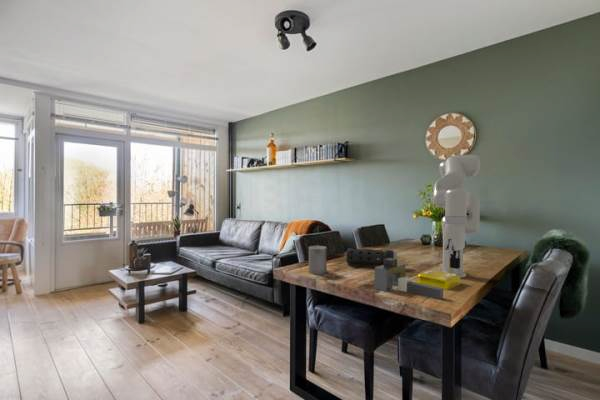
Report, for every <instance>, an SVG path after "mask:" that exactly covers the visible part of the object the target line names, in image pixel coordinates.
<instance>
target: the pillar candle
mask: <svg viewBox="0 0 600 400" xmlns="http://www.w3.org/2000/svg"><path fill="white" fill-rule="evenodd" d="M327 261H328V260H327V246H325V245H319V244H317V245H311V246H308V274H311V275H325V274H327V271H328V270H327Z"/></svg>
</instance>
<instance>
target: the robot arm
mask: <svg viewBox="0 0 600 400" xmlns="http://www.w3.org/2000/svg"><path fill="white" fill-rule="evenodd" d="M480 160H481V159H480V158H479V156H477V155H475V154H463V155H462V154H461V155H460V154H459V155H458V154H457V155H452V156H449V157H448V158H447V159H446V160H445V161H441V162H440V163H439V166H438V167H439V168H438V169H439V174H440V176H441V177H440V178H439V179H437V180H436V181H435V183H434V185H433V189H432V202H433V205H434V206H435V207H437V208H444V216H443V217H442V218H441V220H440V221H441V222H440V223H441V231H442V270H439V271H440V272H445V273H451V274H456V275H460V279H463V278H466V277H467V274H466V273H465V272H464V271H463V269H464V249H465V247H466V235H476V234H478V233H479V231H480V221H481V220H480V219H481V218H480V216H481V215H480V211H481V210H480V204H481V203H480V199H479V197H478V195H476V194H472V193H470V192H469V191H468V190H467V189H464V183H465V182H466V178H473V177H476V176H477V175H478V173H479V172H480V170H481V161H480ZM468 214H469V215H468Z"/></svg>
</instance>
